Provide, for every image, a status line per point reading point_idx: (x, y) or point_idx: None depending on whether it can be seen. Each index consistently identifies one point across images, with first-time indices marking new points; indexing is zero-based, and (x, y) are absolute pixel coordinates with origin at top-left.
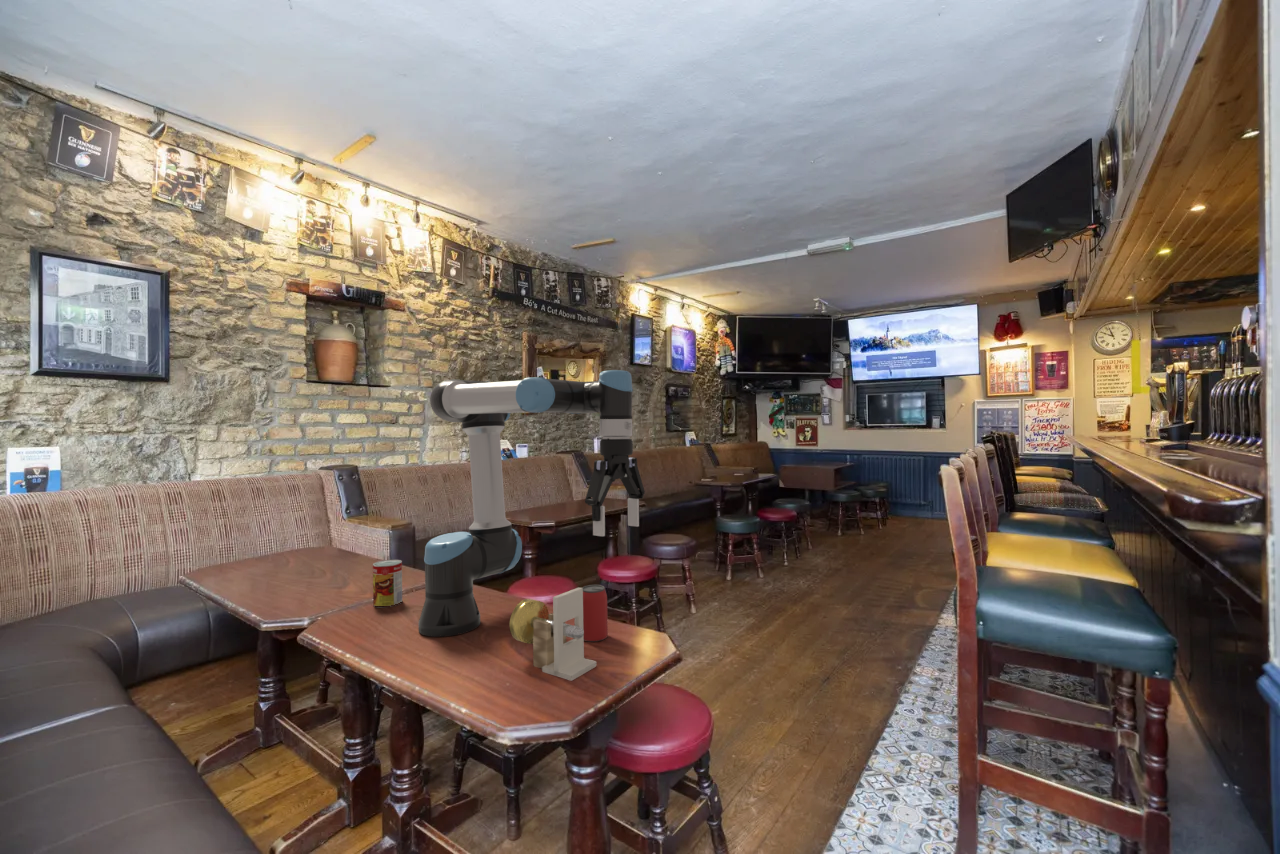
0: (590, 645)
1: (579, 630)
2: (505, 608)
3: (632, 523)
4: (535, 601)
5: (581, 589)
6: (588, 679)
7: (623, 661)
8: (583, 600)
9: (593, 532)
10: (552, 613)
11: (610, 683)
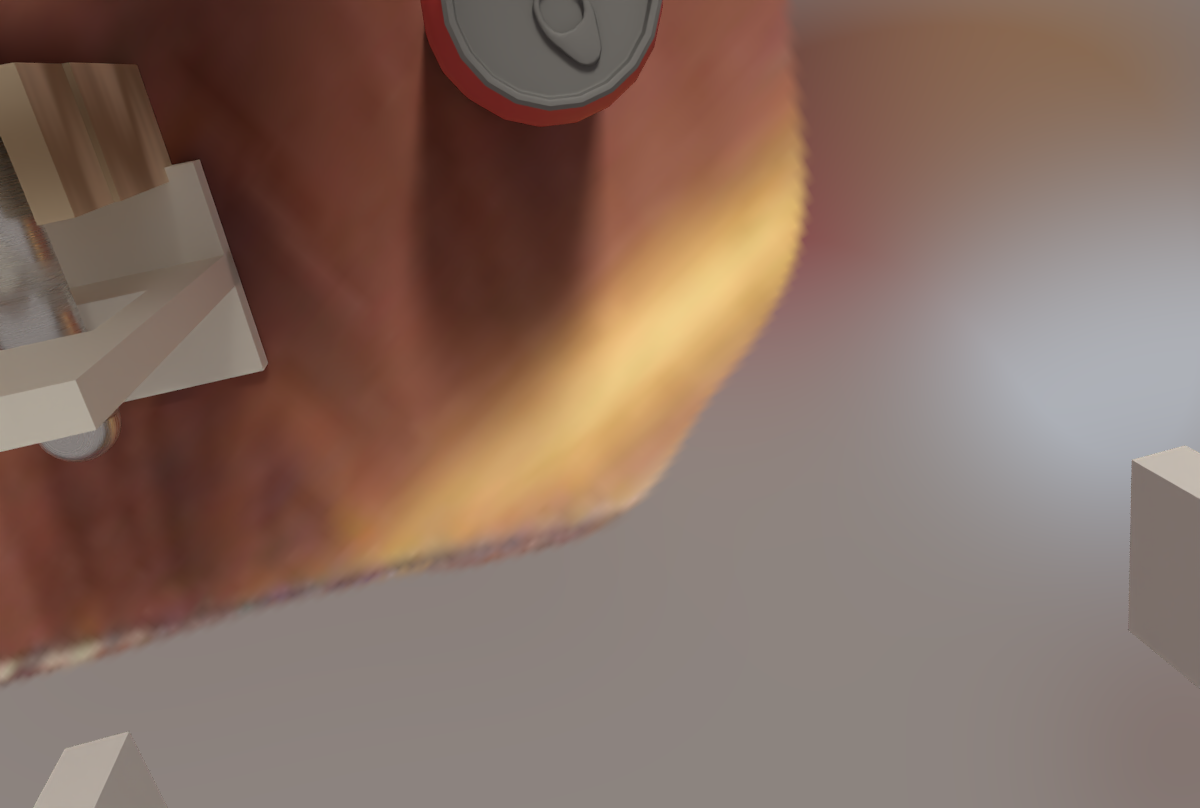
0: (418, 106)
1: (63, 457)
2: None
3: (1161, 574)
4: None
5: (81, 429)
6: (146, 451)
7: (414, 413)
8: (421, 5)
9: (49, 793)
10: (15, 77)
11: (210, 548)
